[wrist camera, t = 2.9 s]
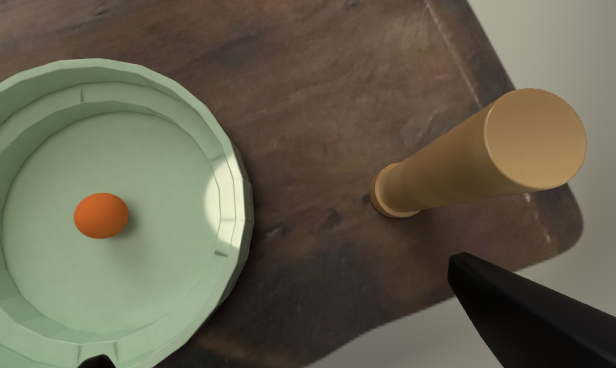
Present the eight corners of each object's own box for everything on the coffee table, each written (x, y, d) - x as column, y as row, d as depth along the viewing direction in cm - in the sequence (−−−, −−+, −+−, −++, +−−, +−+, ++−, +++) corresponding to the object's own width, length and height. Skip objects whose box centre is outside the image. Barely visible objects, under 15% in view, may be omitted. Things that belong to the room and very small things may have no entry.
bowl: (264, 343, 21) (255, 373, 17) (-28, 376, 20) (-118, 416, 16) (246, 82, 24) (234, 48, 20) (-12, 100, 23) (-85, 69, 19)
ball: (137, 236, 22) (112, 237, 19) (93, 240, 21) (60, 242, 18) (137, 193, 22) (112, 187, 19) (93, 197, 22) (61, 192, 19)
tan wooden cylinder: (422, 215, 23) (611, 193, 9) (372, 220, 23) (486, 205, 9) (415, 165, 24) (582, 74, 10) (366, 169, 23) (465, 82, 10)
